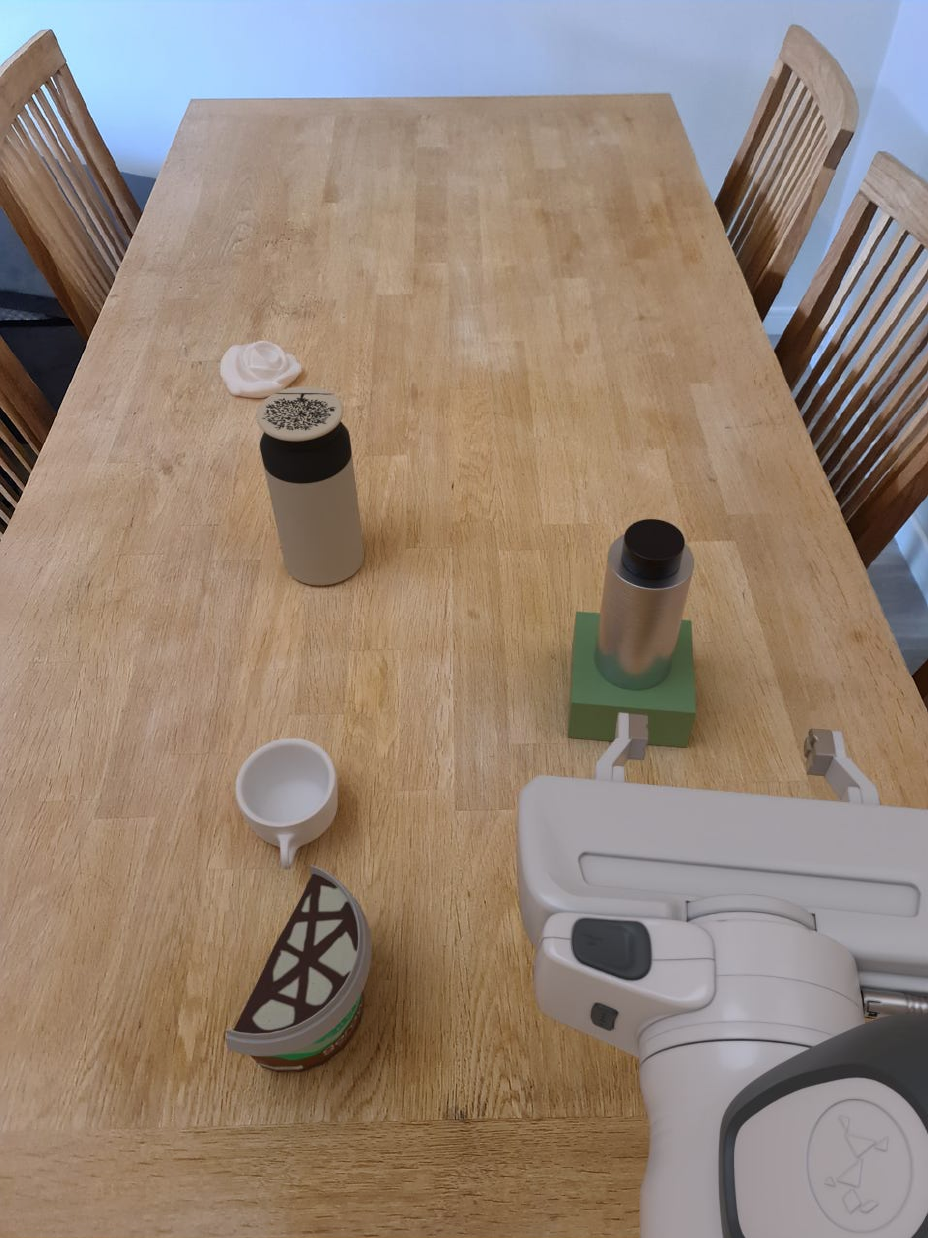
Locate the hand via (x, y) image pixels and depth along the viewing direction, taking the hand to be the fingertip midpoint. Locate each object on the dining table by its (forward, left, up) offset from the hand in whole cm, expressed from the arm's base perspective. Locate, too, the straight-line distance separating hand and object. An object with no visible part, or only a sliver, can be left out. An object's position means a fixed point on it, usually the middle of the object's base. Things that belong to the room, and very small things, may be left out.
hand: (725, 728), depth 49 cm
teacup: (+28, -7, -28) cm, 40 cm away
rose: (+46, -67, -28) cm, 86 cm away
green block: (+2, -23, -28) cm, 36 cm away
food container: (+22, +7, -28) cm, 36 cm away
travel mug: (+32, -37, -28) cm, 56 cm away
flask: (+2, -23, -23) cm, 33 cm away
